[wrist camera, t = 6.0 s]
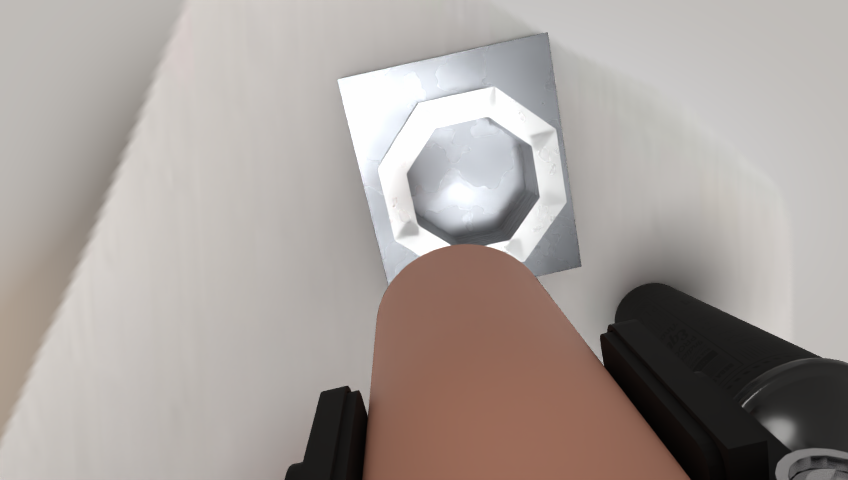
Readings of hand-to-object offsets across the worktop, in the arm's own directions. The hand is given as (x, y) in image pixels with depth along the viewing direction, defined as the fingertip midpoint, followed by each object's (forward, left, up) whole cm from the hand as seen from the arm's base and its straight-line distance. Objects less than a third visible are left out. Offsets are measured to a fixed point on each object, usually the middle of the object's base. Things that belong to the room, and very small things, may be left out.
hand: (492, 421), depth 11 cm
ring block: (+2, -3, -22) cm, 22 cm away
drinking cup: (-10, -13, -22) cm, 28 cm away
